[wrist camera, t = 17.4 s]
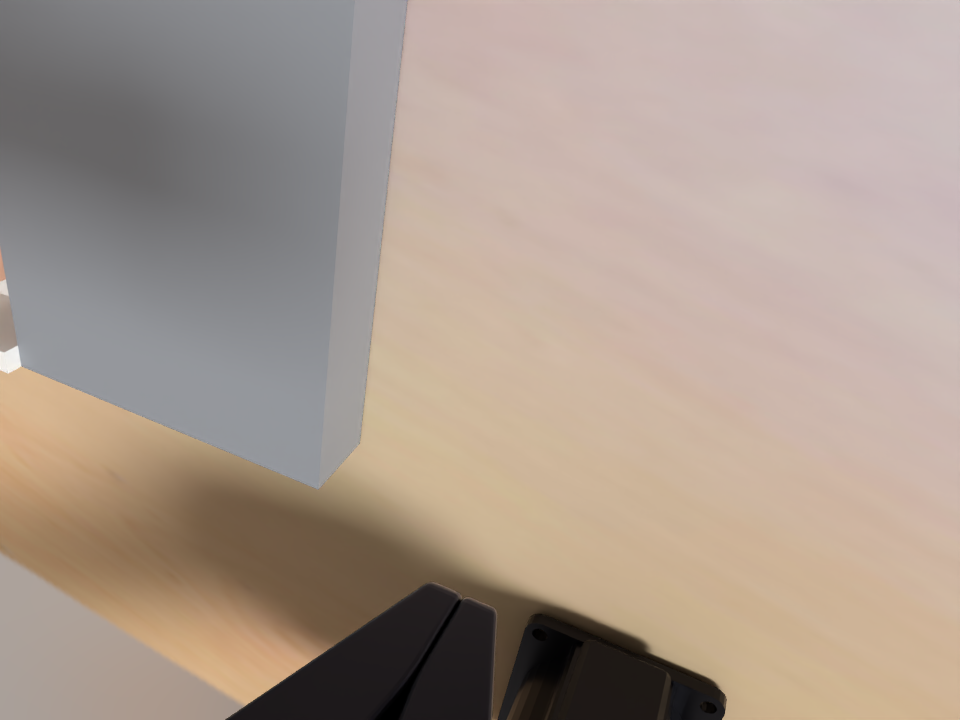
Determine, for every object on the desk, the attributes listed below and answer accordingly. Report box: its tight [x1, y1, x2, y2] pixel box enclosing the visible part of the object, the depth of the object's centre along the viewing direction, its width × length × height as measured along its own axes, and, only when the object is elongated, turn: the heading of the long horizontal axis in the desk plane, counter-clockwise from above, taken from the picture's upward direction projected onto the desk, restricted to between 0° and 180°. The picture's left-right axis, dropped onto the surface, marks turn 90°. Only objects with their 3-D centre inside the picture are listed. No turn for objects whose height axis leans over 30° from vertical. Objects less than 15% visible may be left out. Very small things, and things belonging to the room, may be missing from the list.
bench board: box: [0, 0, 407, 490], centre depth 21 cm, size 18×11×2 cm, turn 170°
